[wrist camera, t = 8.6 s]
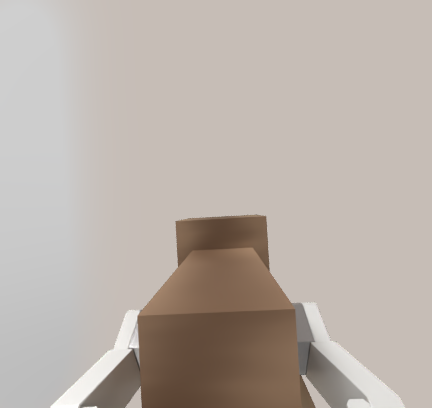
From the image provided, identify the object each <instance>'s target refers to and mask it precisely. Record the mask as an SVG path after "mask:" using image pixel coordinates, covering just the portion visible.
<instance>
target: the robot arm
mask: <svg viewBox="0 0 432 408" xmlns="http://www.w3.org/2000/svg"><path fill="white" fill-rule="evenodd" d="M291 304H292V305H293V306H294V308H295V313H296V329H297V345H298V361H299V375H306V377H307V378H308V379H309V381H310V382H311V383H312V384H313V386H314V387H315V388H316V389H317V391H318V392H319V393H320V394H321V395H322V397H323V398H324V399H325V400H326V402H327V403H328V404H329V405H330V407H331V408H405V406H404V404H403V403H402V401H401V399H400V397H399V396H398V395H397V394H396V393H394V392H393V391H392V390H391V389H390V388H389V387H388V386H387V385H385V384H384V383H383V382H382V381H381V380H380V379H378V378H377V377H376V376H375V375H374V374H373V373H371V372H370V371H369V370H368V369H367V368H365V366H363V365H362V364H361V363H360V362H358V361H357V359H355V358H354V357H353V356H352V355H351V354H350V353H348V352H347V351H346V350H345V349H344V348H343V347H342V346H340V345H339V344H338V343H337V342H334V341H333V342H332V341H331V339H330V337H329V334H328V332H327V329H326V326H325V324H324V321H323V319H322V316H321V314H320V311H319V309H318V306H317V304H316V303H315V302H312V303H291ZM141 311H142V310H128V312H127V313H126V315H125V317H124V320H123V323H122V326H121V329H120V332H119V334H118V337H117V340H116V343H115V346H114V349H113V350H109V351H108V352H106V354H104V355H103V356H102V357H101V359H99V360H98V361H97V362H96V363H95V364H94V365H93V366H92V367H91V368H90V369H89V370H88V371H87V372H86V373H85V374H84V375H83V376H82V377H81V378H80V379H79V380H78V381H77V382H76V383H75V384H74V385H72V386H71V387H70V388H69V389H68V390H67V391H66V392H65V393H64V394H63V395H62V396H61V397H60V398H59V399H58V400H57V401H56V402H55V403H54V404H53V405H52V406H51V407H50V408H125V407H126V405H127V404H128V403H129V401H130V400H131V398H132V397H133V396H134V394H135V393H136V391H137V390H138V389H139V387H140V386H141V380H140V360H139V340H138V320H137V316H138V314H139V313H140V312H141Z"/></svg>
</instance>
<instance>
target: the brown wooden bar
mask: <svg viewBox="0 0 432 408" xmlns="http://www.w3.org/2000/svg"><path fill="white" fill-rule="evenodd" d="M176 235H177V236H176V237H177V255H178V268H177V269H176V271H175V272H174V273H173V274H172V275H171V276H170V278H169V279H168V280H167V281H166V282H165V284H164V285H163V286H162V287H161V288H160V290H159V291H158V292H157V293H156V294H155V295H154V297H153V298H152V299H151V300H150V301H149V303H148V304H147V305H146V306H145V307H144V308H143V310H142V311H141V312H140V313H139V314H138V316H137V320H138V340H139V360H140V380H141V400H142V408H301V393H300V377H299V361H298V345H297V329H296V313H295V308H294V306H293V305H292V304H291V302H290V301H289V299H288V298H287V296H286V295H285V293H284V292H283V291H282V289H281V288H280V286H279V285H278V283H277V282H276V280H275V279H274V278H273V276H272V275H271V273H270V272H269V255H268V238H267V222H266V216H261V215H244V216H225V217H207V218H189V219H184V220H180V221H176Z"/></svg>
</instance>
